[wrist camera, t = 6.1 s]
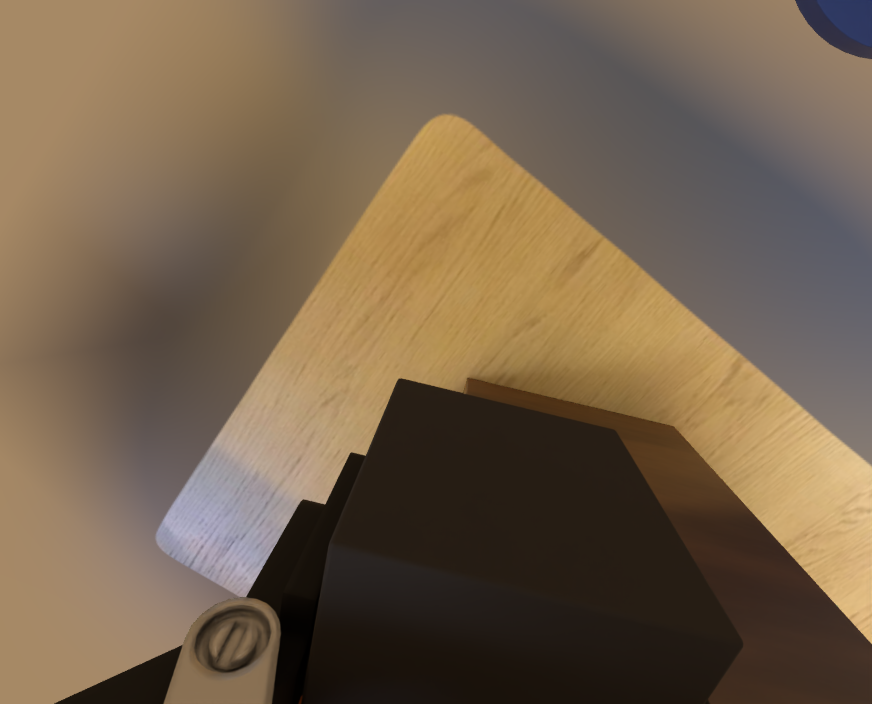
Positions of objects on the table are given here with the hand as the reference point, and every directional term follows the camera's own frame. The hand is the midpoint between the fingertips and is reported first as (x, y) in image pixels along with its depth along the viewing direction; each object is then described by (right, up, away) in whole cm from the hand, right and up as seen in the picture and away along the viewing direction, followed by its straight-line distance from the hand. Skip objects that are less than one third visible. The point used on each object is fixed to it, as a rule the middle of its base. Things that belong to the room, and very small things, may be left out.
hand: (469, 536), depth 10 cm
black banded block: (0, 0, 0) cm, 0 cm away
